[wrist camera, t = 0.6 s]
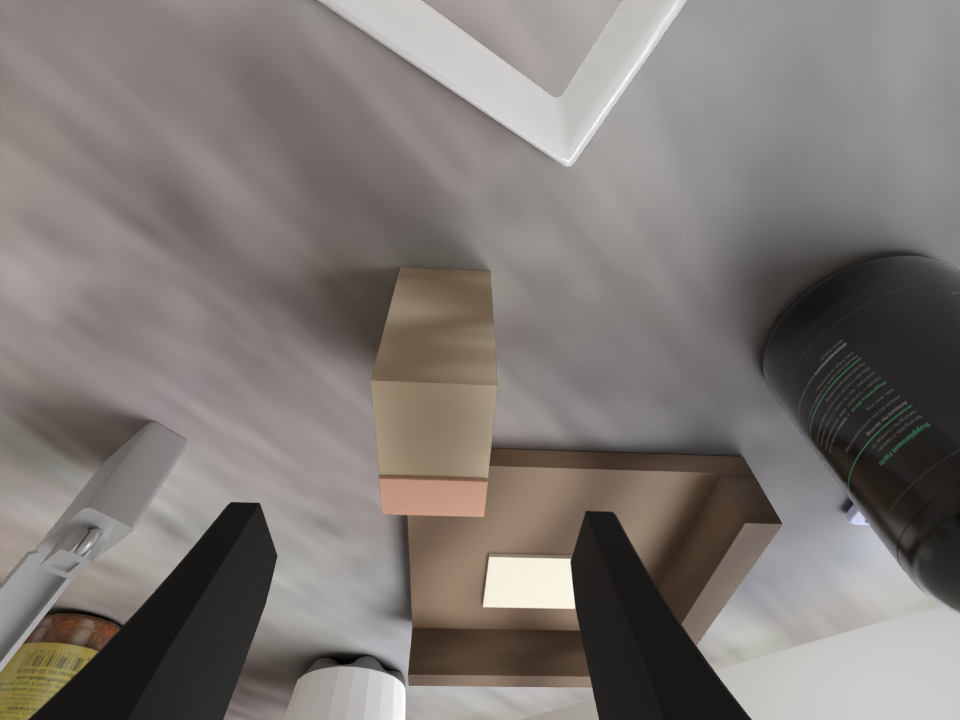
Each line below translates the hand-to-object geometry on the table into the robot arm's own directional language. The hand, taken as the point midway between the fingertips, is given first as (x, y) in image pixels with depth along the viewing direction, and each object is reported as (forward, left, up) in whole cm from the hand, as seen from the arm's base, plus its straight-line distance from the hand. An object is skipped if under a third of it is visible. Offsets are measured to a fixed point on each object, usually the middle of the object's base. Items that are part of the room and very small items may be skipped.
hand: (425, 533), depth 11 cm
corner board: (-6, +14, -8) cm, 17 cm away
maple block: (0, 0, -8) cm, 8 cm away
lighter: (+14, +8, -8) cm, 18 cm away
